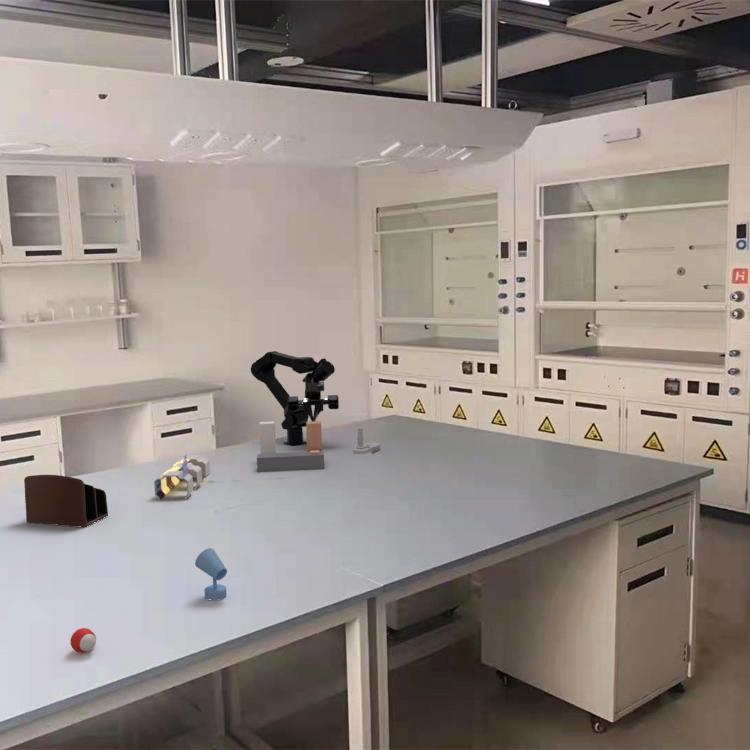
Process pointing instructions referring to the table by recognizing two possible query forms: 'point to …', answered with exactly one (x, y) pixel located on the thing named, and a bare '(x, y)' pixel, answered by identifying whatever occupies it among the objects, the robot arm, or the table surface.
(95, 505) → the letter holder
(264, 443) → the key
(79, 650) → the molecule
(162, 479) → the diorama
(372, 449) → the electronic device
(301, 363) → the robot arm
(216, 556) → the spotlight
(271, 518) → the table surface
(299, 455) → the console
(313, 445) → the key
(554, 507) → the table surface
